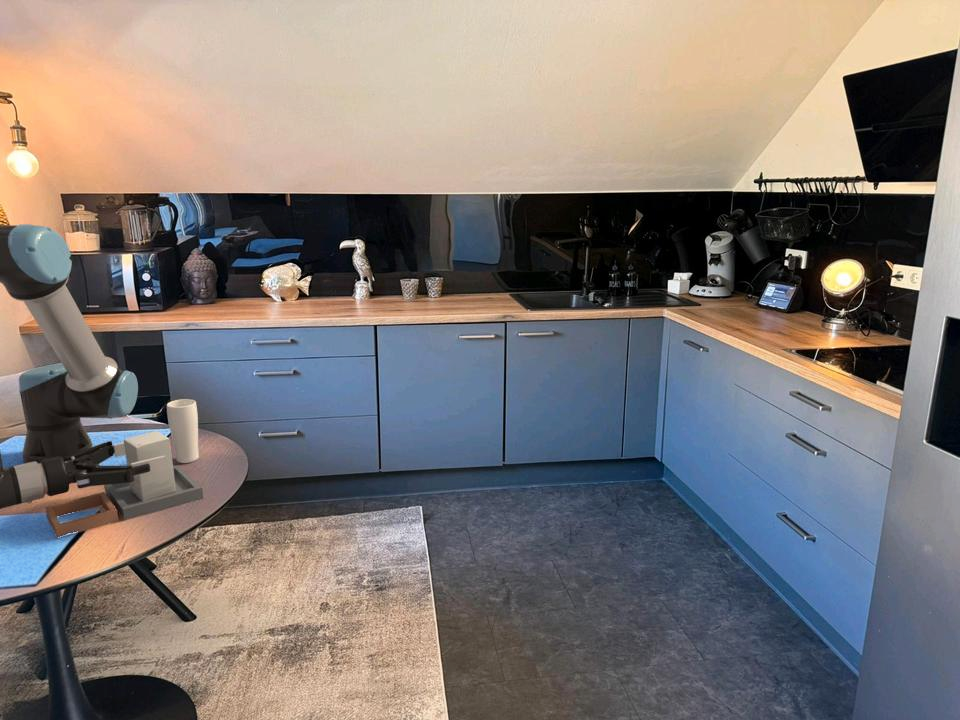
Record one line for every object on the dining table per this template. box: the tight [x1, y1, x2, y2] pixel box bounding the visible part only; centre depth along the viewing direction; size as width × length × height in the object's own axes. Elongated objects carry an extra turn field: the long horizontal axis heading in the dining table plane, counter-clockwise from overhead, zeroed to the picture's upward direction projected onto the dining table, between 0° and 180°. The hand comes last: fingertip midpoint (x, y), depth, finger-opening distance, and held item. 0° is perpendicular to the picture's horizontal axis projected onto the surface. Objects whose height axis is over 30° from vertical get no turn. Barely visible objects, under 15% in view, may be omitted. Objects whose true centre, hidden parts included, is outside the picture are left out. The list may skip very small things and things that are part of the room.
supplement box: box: [123, 430, 176, 501], centre depth 150 cm, size 7×7×13 cm
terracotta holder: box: [44, 491, 119, 539], centre depth 141 cm, size 11×11×2 cm
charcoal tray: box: [103, 464, 204, 521], centre depth 151 cm, size 16×16×2 cm
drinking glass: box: [166, 398, 200, 464], centre depth 169 cm, size 7×7×15 cm
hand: (155, 452), depth 150 cm, fingers open, 13 cm apart
